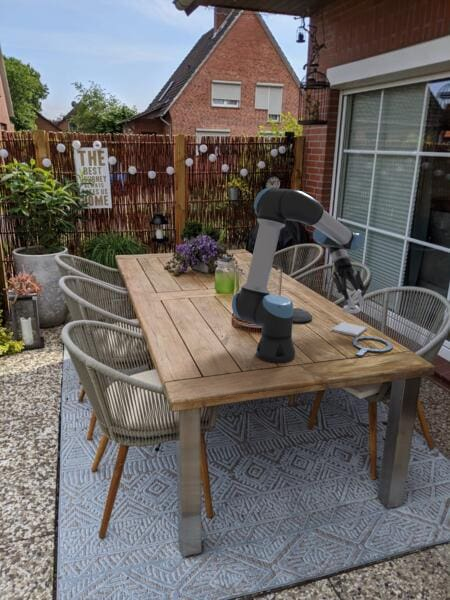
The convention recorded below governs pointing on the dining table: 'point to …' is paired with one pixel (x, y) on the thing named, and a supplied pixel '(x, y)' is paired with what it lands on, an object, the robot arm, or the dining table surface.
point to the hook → (353, 304)
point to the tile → (349, 329)
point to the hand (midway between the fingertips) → (356, 305)
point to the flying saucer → (301, 315)
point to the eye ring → (364, 350)
